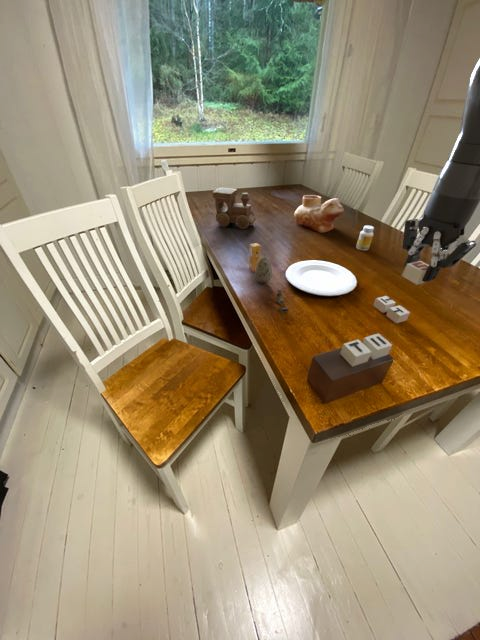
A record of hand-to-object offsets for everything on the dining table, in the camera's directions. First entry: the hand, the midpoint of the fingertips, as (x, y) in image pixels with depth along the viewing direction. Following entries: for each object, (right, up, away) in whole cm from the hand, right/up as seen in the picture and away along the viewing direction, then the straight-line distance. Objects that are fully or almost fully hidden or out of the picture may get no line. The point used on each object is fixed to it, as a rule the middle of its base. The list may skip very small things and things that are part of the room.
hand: (417, 275), depth 59 cm
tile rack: (-14, -24, +4) cm, 28 cm away
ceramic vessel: (+1, +39, +84) cm, 92 cm away
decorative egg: (-30, +4, +39) cm, 49 cm away
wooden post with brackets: (-26, -5, +28) cm, 38 cm away
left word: (-12, -17, 0) cm, 21 cm away
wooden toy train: (-41, +40, +84) cm, 102 cm away
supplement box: (-33, +10, +46) cm, 58 cm away
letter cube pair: (+8, -8, +25) cm, 27 cm away
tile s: (0, -1, 0) cm, 1 cm away
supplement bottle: (+16, +22, +62) cm, 68 cm away
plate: (-9, +5, +40) cm, 42 cm away
